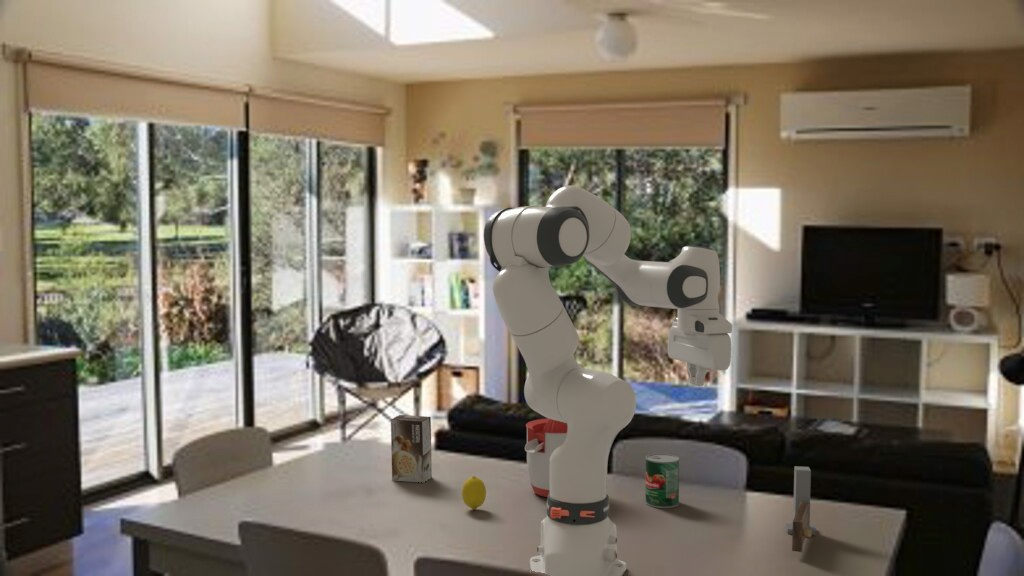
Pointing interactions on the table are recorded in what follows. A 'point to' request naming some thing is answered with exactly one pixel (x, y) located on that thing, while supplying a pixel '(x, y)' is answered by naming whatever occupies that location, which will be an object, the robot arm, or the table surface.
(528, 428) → the citrus juicer
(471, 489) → the lemon
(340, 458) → the table surface
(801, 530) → the gate leaf
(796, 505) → the gatepost
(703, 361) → the robot arm
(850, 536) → the table surface
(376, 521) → the table surface
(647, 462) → the canned tomato
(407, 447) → the coffee box
